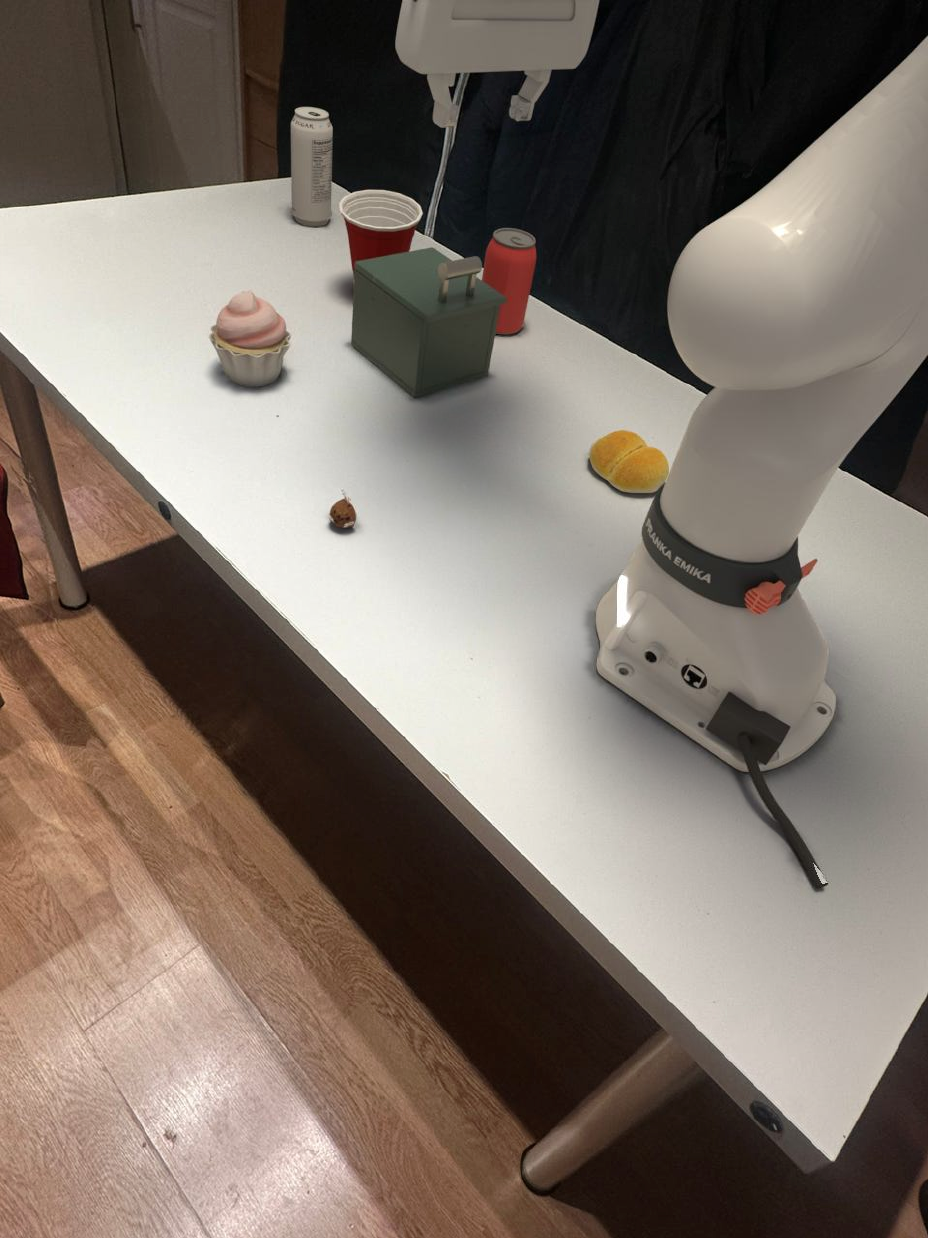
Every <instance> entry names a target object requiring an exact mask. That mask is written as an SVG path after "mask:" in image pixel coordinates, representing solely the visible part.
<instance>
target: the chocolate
mask: <svg viewBox="0 0 928 1238" xmlns="http://www.w3.org/2000/svg"><path fill="white" fill-rule="evenodd" d="M341 492H342V496H343V497H344V498H342V499H339V500H337V501H336V502H335V503H334V504H333V505H332V506H331V507H330V511H329V514H328V519H329V520H330V521H331V522H332V523H333V524H334V526H336V527H338V528H340V529H348V528H351V527H354V526H355V525H356V521H357V518H358V516H357V515H358V514H357V512H356V508H355V506H354V505H353V503H352V502H351V501H352V497H351V496H349V495H348V494H347V492H346V491H345V490H344V488H341Z"/></svg>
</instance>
